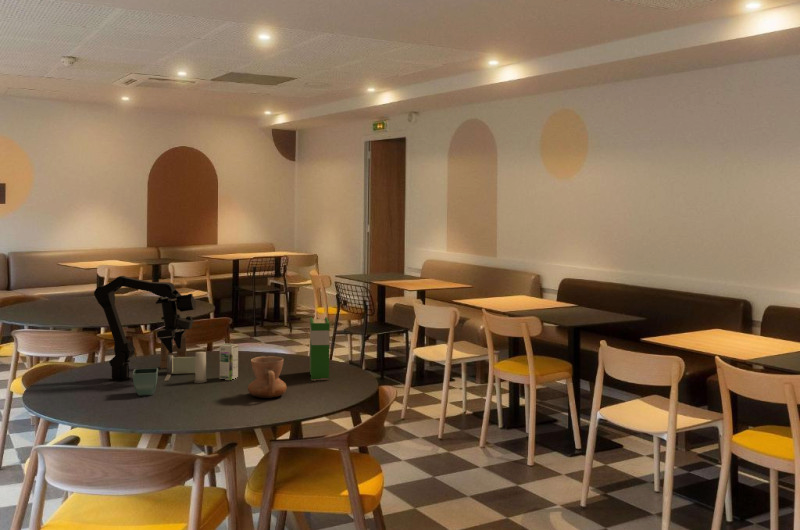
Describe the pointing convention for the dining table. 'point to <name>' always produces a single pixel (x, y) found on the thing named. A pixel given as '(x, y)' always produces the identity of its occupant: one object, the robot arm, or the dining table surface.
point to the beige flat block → (183, 365)
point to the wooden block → (180, 352)
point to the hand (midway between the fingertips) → (175, 350)
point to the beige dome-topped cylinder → (200, 367)
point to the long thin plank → (169, 367)
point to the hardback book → (319, 348)
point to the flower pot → (145, 380)
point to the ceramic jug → (267, 377)
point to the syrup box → (228, 361)
